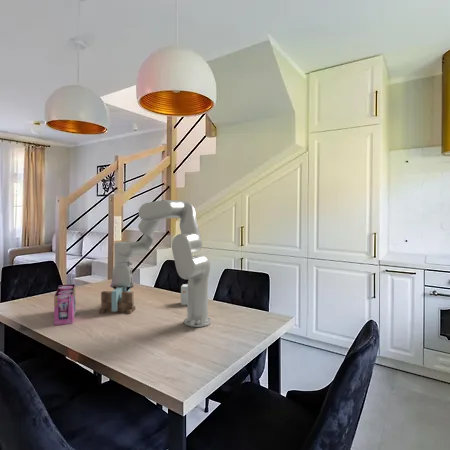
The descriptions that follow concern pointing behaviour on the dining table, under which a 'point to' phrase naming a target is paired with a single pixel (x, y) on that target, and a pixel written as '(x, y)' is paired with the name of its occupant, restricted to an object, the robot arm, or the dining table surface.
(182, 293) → the small box
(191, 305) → the robot arm
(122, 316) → the dining table surface
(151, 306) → the dining table surface
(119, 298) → the notched board
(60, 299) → the gum box
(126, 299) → the notched wall
